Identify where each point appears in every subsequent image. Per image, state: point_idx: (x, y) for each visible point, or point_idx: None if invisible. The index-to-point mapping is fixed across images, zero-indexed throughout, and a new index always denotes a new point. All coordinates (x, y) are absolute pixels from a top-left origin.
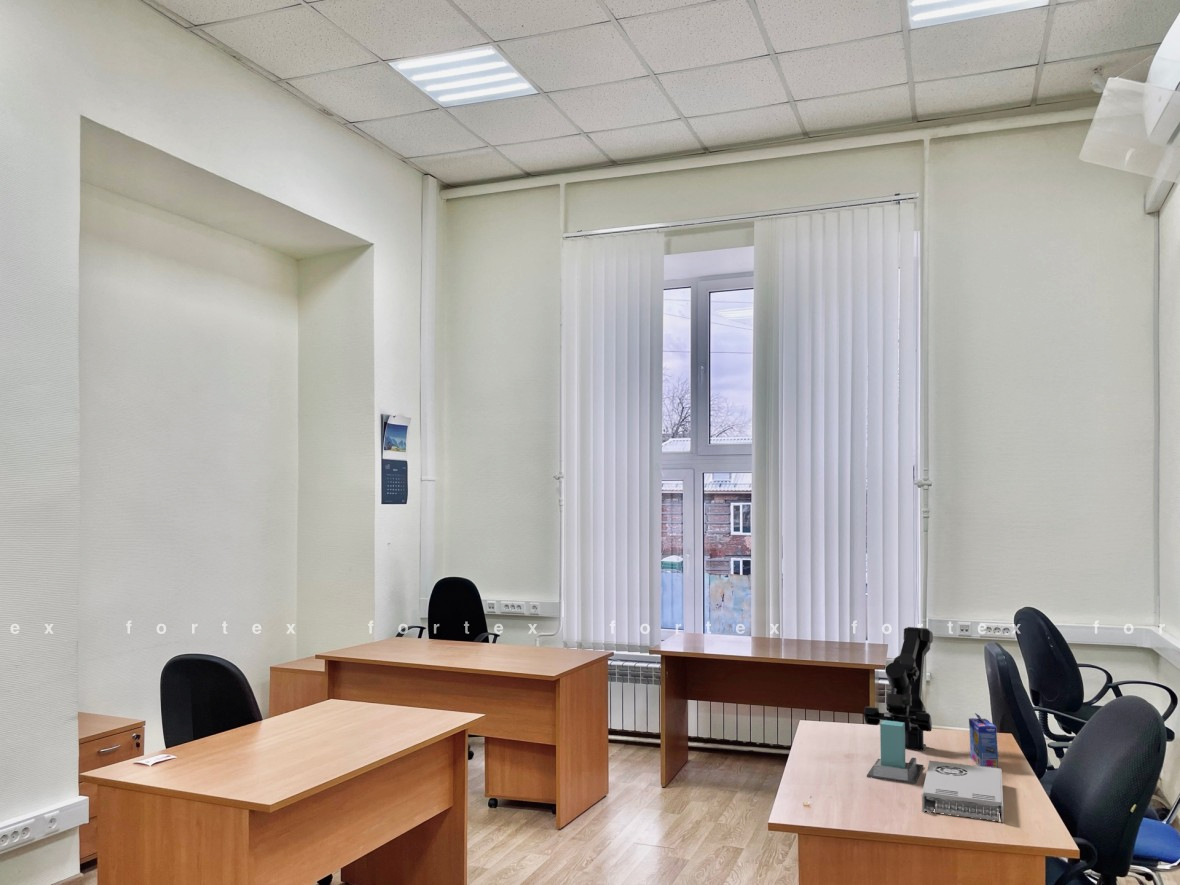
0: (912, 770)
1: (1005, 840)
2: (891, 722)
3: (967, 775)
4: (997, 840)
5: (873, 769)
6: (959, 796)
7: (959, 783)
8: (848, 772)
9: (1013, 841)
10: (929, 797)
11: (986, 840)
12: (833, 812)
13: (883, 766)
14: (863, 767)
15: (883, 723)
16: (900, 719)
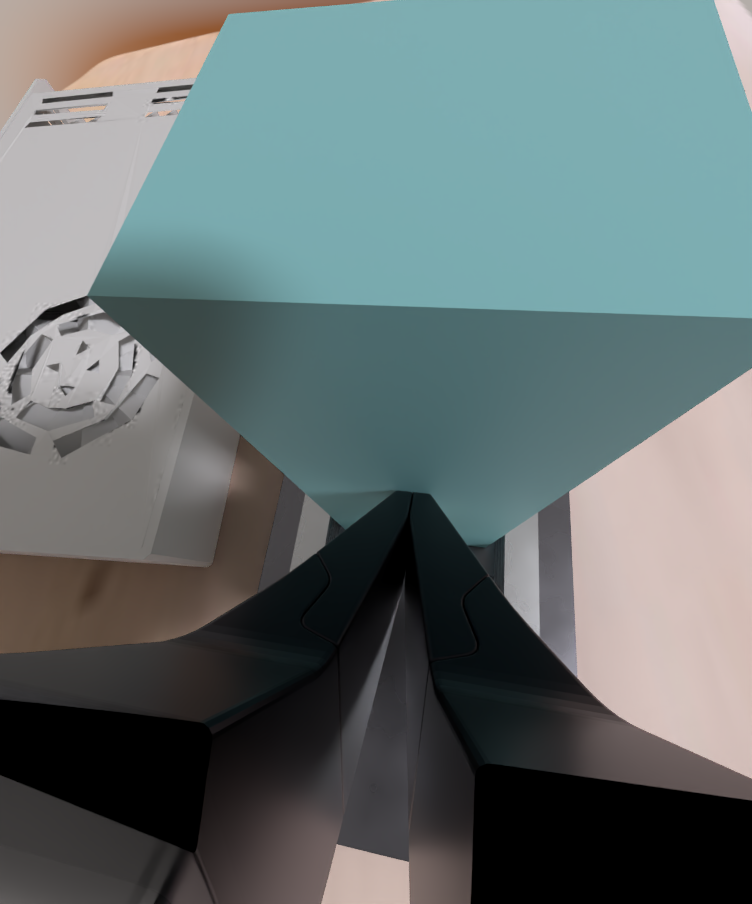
0: None
1: (128, 61)
2: (464, 156)
3: (17, 322)
4: (147, 55)
5: (552, 526)
6: (155, 83)
7: (105, 201)
8: (689, 453)
9: (111, 63)
10: None
11: (173, 46)
12: None
13: None
14: (637, 611)
15: (642, 16)
16: (121, 701)
